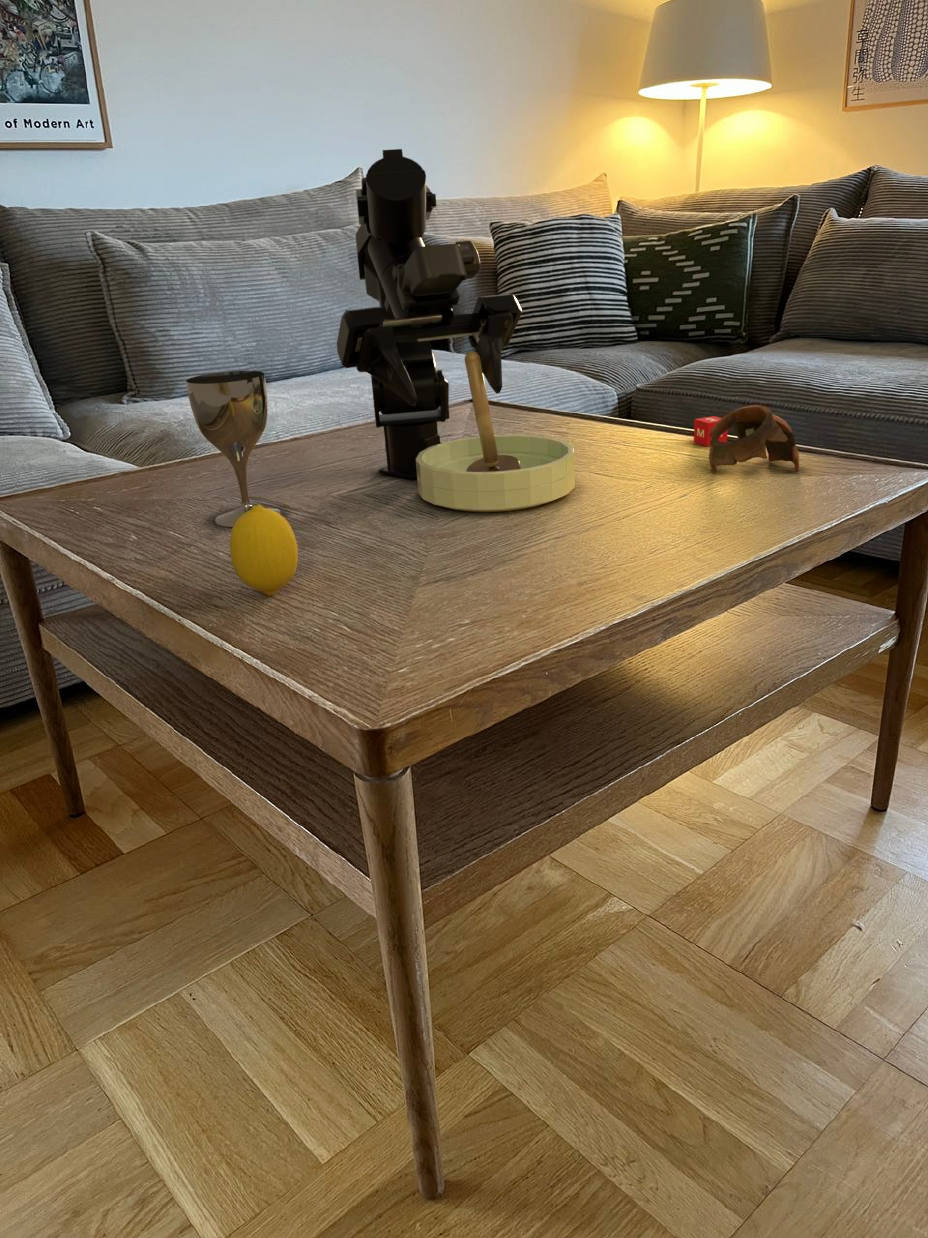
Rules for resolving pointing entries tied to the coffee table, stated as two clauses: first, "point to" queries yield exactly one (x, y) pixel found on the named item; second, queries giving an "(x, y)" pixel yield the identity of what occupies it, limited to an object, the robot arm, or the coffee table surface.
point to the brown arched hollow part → (753, 438)
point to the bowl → (496, 474)
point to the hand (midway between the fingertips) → (457, 396)
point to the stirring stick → (485, 422)
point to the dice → (706, 430)
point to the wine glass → (231, 421)
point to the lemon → (263, 549)
